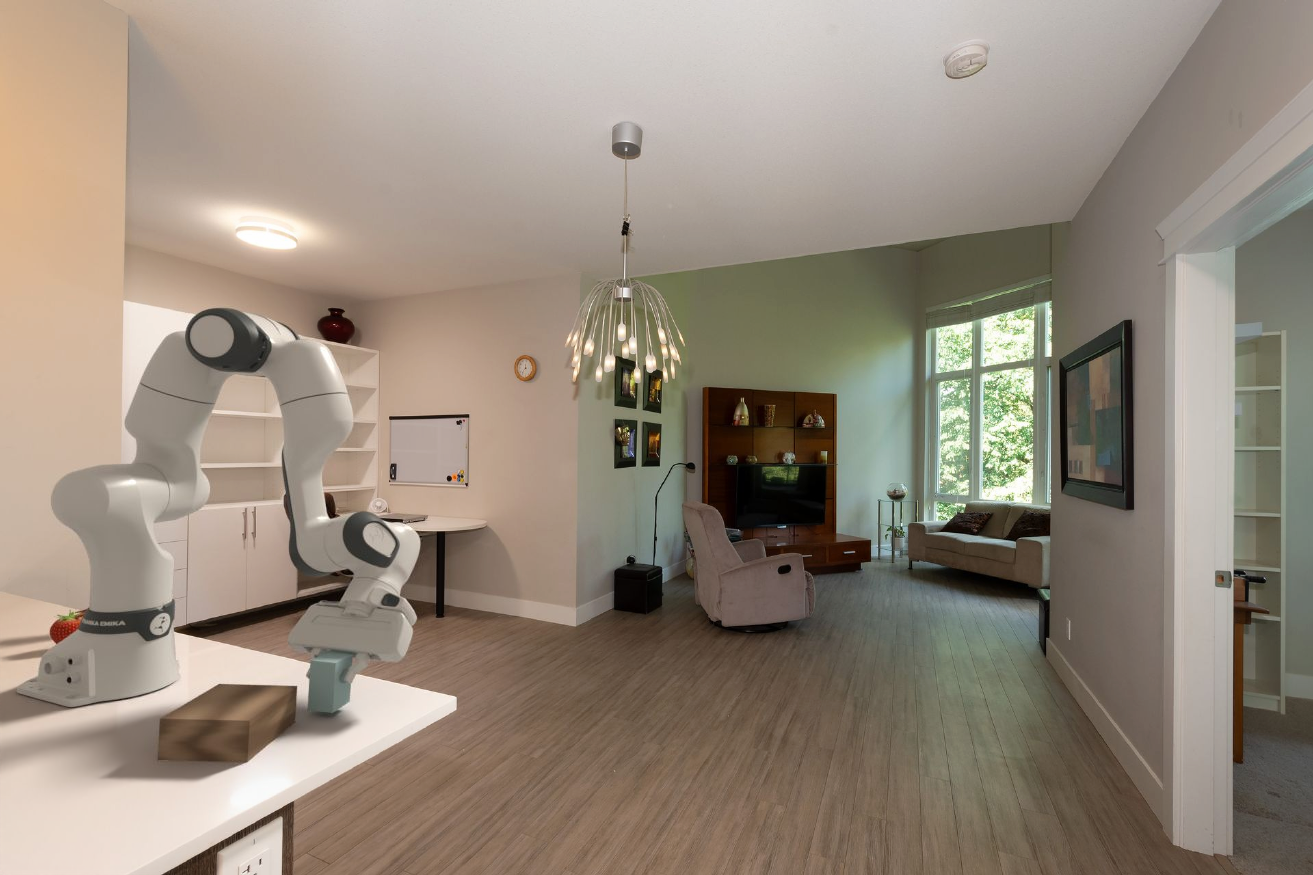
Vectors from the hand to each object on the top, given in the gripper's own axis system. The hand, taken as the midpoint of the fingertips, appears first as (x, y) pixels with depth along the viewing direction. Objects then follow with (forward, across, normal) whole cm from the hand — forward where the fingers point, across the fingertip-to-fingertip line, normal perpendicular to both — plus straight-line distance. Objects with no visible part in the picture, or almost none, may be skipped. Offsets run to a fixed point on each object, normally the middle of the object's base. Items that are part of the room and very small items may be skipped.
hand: (328, 680), depth 98 cm
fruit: (-6, -67, +15) cm, 69 cm away
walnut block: (+12, -8, -3) cm, 14 cm away
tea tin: (+3, 0, +4) cm, 4 cm away
